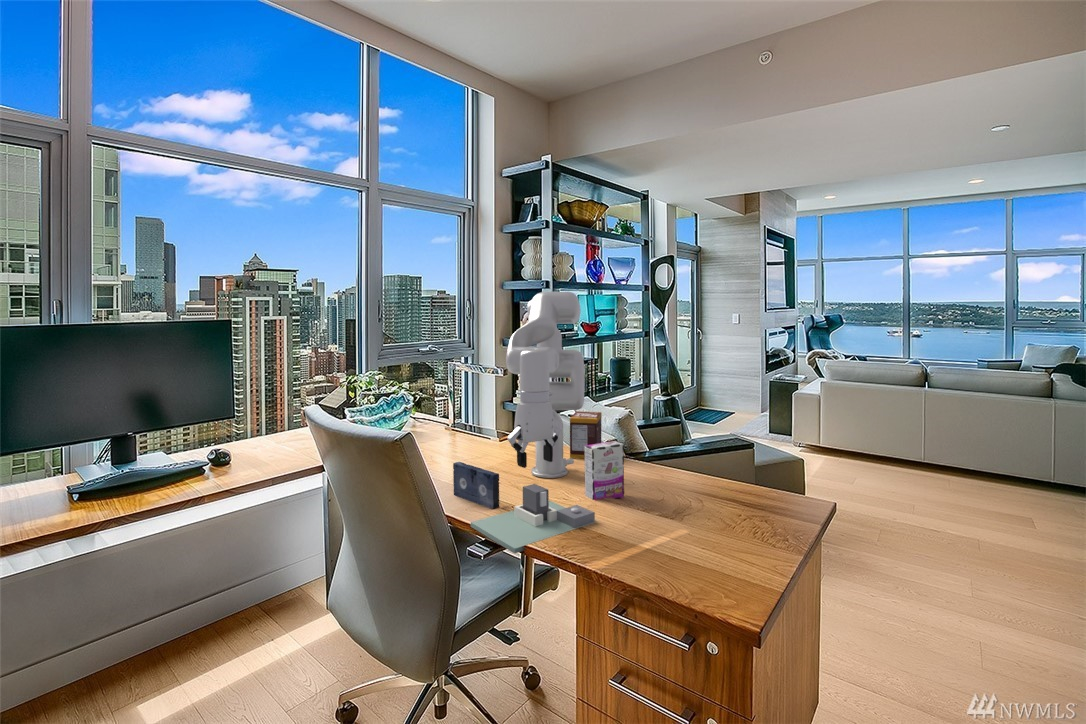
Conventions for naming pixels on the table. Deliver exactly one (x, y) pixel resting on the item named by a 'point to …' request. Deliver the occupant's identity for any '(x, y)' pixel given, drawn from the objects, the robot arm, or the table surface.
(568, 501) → the table surface
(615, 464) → the candy bar box
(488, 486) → the vhs cassette tape
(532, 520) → the board
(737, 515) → the table surface
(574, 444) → the supplement box
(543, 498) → the plug
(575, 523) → the grey button box
